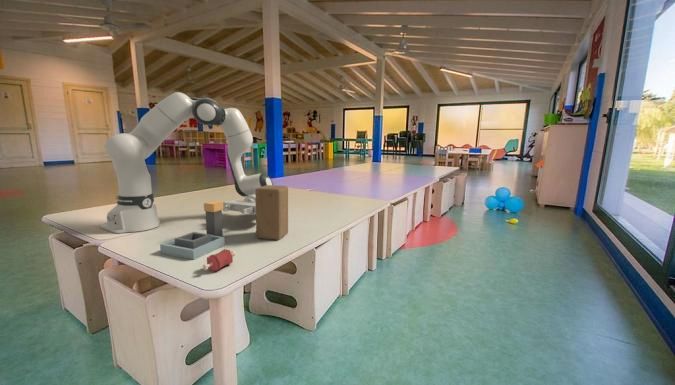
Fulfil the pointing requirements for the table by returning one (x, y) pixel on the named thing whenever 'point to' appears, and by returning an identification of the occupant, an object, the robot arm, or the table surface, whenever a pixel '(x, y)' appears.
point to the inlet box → (192, 245)
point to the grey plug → (214, 218)
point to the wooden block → (271, 211)
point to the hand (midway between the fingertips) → (233, 210)
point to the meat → (219, 260)
